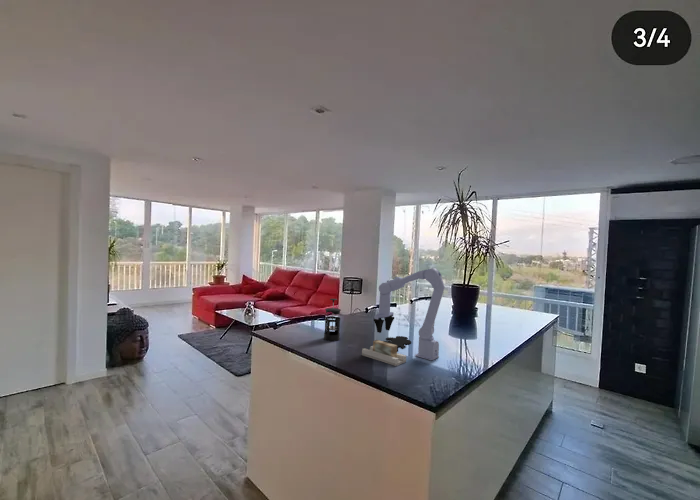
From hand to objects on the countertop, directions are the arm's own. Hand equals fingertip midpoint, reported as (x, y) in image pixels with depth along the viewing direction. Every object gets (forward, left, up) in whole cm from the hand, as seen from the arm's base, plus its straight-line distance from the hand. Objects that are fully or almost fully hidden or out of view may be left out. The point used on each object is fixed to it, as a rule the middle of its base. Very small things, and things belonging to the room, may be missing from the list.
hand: (383, 331), depth 171 cm
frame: (-10, +12, -8) cm, 17 cm away
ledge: (-9, +12, -9) cm, 17 cm away
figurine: (+2, -14, -10) cm, 18 cm away
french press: (+31, +7, -10) cm, 33 cm away
